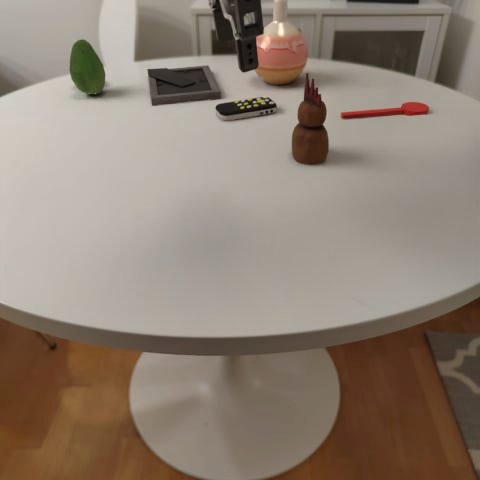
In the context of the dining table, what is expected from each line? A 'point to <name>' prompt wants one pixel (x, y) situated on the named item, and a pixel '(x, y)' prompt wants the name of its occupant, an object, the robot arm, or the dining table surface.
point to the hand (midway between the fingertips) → (237, 54)
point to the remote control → (245, 108)
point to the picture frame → (182, 85)
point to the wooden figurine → (310, 128)
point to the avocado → (86, 68)
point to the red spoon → (390, 111)
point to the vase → (281, 49)
